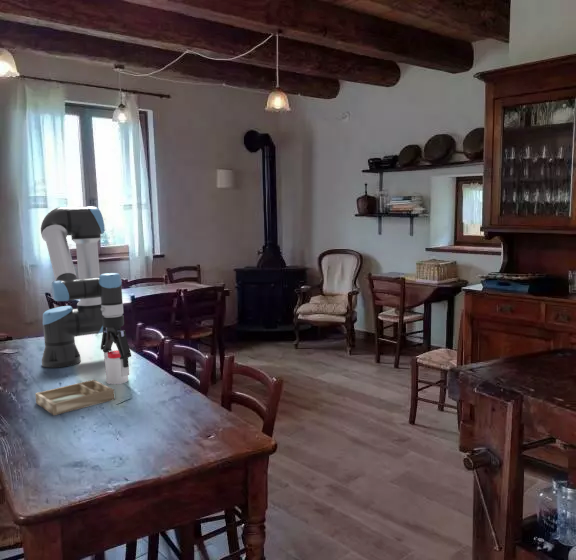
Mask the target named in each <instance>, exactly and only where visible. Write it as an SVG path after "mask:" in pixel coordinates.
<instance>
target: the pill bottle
mask: <svg viewBox="0 0 576 560" xmlns="http://www.w3.org/2000/svg"><path fill="white" fill-rule="evenodd" d="M120 357H121V356H120V353H119V351H118V349H117V350H112V351H109V352H108V357H107V358H106V359H105V360H104V369H105V368H106V370H105V380H106V383H107V384H108V385H120V384H121V385H122V384H124V383H127V382H129V375H128V376H123V377H122V376H121V363H120Z"/></svg>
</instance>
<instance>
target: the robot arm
mask: <svg viewBox="0 0 576 560" xmlns="http://www.w3.org/2000/svg"><path fill="white" fill-rule="evenodd" d="M40 226H41V227H40V235H41V239H43V241H44V242H45V243H46V247H47V251H48V255H49V259H50V263H51V267H52V271H53V276H54V281H52V283H51V294H52V299H53V301H55V302H69V301H77V300H79V301H78V302H77V304H76V308H73V306H71V305H64V306H63V305H61V306H58V307H57V306H56V307H53V308H49V309H47V310H45V311H44V312H43V313H42V326H43V327H42V328H43V337H44V338H43V339H44V340H43V341H44V350H43V353H42V357H41V366H42V367H43V368H49V369H51V368H52V369H54V368H65V367H69V366H70V367H71V366H74V365H77V364H79V363H80V362H81V354H80V351H79V350H78V347H77V345H76V340H75V339H76V338H75V337H82V336H87V335H88V336H89V335H99V334H102V335H101V336H102V337H101V342H100V350H101V351H102V352H103V356H104V358H103V359H104V361H105V359H106V358H107V357H108V352H110V351H113V350H112V346H113V343H114V344H115V345H116V348H117V350H118V351H119V353H120V356H121V357H120V363H121V376H122V377H123V376H128V377H129V376H130V363H129V358H131V357H132V352H131V350H130V345H129V343H128V342H129V341H128V338H127V332H126V330H124V329H123V330H122V329H121V327H123V326H124V325H125V318H124V315H123V314H124V303H123V290H122V289H123V288H122V284H123V283H122V277H121V274H120V273H119V272H109V273H108V272H105V273H100V260H99V247H98V243H99V241H100V240H101V238H102V236H101V235H103V234H105V222H104V217H103V215H102V212H101V210H100V209H99V208H98V207H97V206H88V205H86V206H61V207H56V208H54V209H52V210H50V211H49V212H48V213H47V214H46V215H45V216H44V218H43V220H42V222H41V225H40ZM68 236H70V237H71V241H73V243H74V244H75V248H76V250H75V251H76V260H77V263H76V264H77V271H78V272H77V273H76V269H75V266H74V261H73V258H72V254H71V250H70V248H69V243H68V240H67V237H68ZM104 370H105V371H106V368H105V367H104Z"/></svg>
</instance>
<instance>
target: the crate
mask: <svg viewBox="0 0 576 560" xmlns="http://www.w3.org/2000/svg"><path fill="white" fill-rule="evenodd" d="M34 396H35V404H36V405H38V406H40V407H41V408H42V409H43V410H45V411H46V412H48V413H50V414H51V415H52V416H57V415H61V414H65V413H68V412H69V413H70V412H72V411H76V410H77V411H78V410H81V409H83V408H84V409H85V408H88V407H91V406H96V405H98V404H99V405H100V404H103V403H107V402H110V401H115V399H116V398H115V389H114V388H112V387H110V386H109V385H108V386H107V385H106V384H104V383H102V382H100V381H97V380H95V379H91V380H86V381H81V382H76V383H73V384H70V385H65V386H61V387H57V388H52V389H47V390H43V391H40V392H39V391H38V392H36V393H35V394H34Z"/></svg>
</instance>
